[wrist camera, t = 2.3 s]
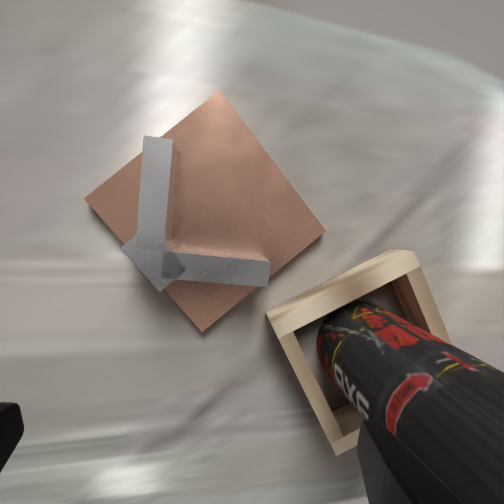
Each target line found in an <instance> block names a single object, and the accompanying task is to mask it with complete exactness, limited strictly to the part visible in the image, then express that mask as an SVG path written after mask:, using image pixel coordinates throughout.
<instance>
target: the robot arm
mask: <svg viewBox="0 0 504 504" xmlns="http://www.w3.org/2000/svg"><path fill="white" fill-rule="evenodd" d="M23 432H24V424H23V419H22V415H21V410H20V406H19V405H18V404H17V403H11V402H1V403H0V472H1V471H2V469H3V467H4V466H5V464H6V462H7V461H8V459H9V457H10V456H11V454H12V452H13V451H14V449H15V447H16V446H17V444H18V443H19V441H20V439H21V437H22V435H23ZM357 450H358V456H359V461H360V465H361V470H362V474H363V479H364V483H365V488H366V492H367V497H368V501H369V504H465V503H464V502H463V501H462V500H461V499H460V498H459V497H458V496H457V495H456V494H455V493H454V492H453V491H452V490H451V489H450V488H449V487H448V486H447V485H446V484H445V483H443V482H442V481H441V480H440V479H439V478H438V477H437V476H436V475H435V474H434V473H433V472H432V471H431V470H430V469H429V468H428V467H427V466H426V465H425V464H424V463H423V462H422V461H421V460H420V459H419V458H417V457H416V456H415V455H414V454H413V453H412V452H411V451H410V450H409V449H408V448H407V447H406V446H405V445H404V444H403V443H402V442H401V441H400V440H399V439H398V438H397V437H396V436H395V435H394V434H393V433H392V432H390V431H389V430H388V429H387V428H386V427H385V426H384V425H383V424H382V423H381V422H380V421H378V420H368V419H364V420H362V422H361V425H360V431H359V437H358V443H357Z"/></svg>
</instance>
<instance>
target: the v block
mask: <svg viewBox="0 0 504 504" xmlns="http://www.w3.org/2000/svg"><path fill="white" fill-rule="evenodd" d="M84 199H85V200H86V202H87V203H88V204H89V205H90V206H91V207H92V208H93V209H94V211H95V212H96V213H97V214H98V215H99V216H100V217H101V219H102V220H103V221H104V222H105V223H106V224H107V225H108V226H109V228H110V229H111V230H112V231H113V232H114V233H115V234H116V236H117V237H118V238H119V239H120V240H121V241H122V242H123V243H124V245H123V246H122V247H120V248H121V249H122V251H123V252H124V253H125V254H126V255H127V256H128V257H129V258H130V260H131V261H132V262H133V263H134V264H135V265H136V266H137V267H138V269H139V270H140V271H141V272H142V273H143V274H144V275H145V276H146V278H147V279H148V280H149V281H150V282H151V283H152V284H153V285H154V287H155V288H156V289H157V290H158V291H159V292H160V291H162V290H163V289H164V290H165V291H166V292H167V293H168V294H169V296H170V297H171V298H172V299H173V300H174V301H175V302H176V304H177V305H178V306H179V307H180V308H181V309H182V310H183V311H184V313H185V314H186V315H187V316H188V317H189V318H190V319H191V321H192V322H193V323H194V324H195V325H196V326H197V327H198V328H199V330H200V331H201V332H203V331H204V330H206V329H207V328H208V327H209V326H210V325H212V324H213V323H214V322H215V321H217V320H218V319H219V318H220V317H222V316H223V315H224V314H225V313H226V312H228V311H229V310H230V309H231V308H233V307H234V306H235V305H236V304H237V303H239V302H240V301H241V300H242V299H244V298H245V297H246V296H247V295H248V294H250V293H251V292H252V291H253V290H255V289H256V288H257V287H268V281H269V277H271V276H272V275H273V274H274V273H275V272H277V271H278V270H279V269H280V268H282V267H283V266H284V265H285V264H286V263H288V262H289V261H290V260H291V259H293V258H294V257H295V256H296V255H297V254H299V253H300V252H301V251H302V250H304V249H305V248H306V247H307V246H308V245H310V244H311V243H312V242H313V241H315V240H316V239H317V238H318V237H320V236H321V235H322V234H323V233H324V232H326V231H325V229H324V228H323V227H322V225H321V224H320V223H319V221H318V220H317V219H316V217H315V216H314V215H313V213H312V212H311V211H310V209H309V208H308V207H307V205H306V204H305V203H304V201H303V200H302V199H301V197H300V196H299V195H298V193H297V192H296V191H295V189H294V188H293V187H292V185H291V184H290V183H289V181H288V180H287V179H286V178H285V176H284V175H283V174H282V172H281V171H280V170H279V168H278V167H277V166H276V164H275V163H274V162H273V160H272V159H271V158H270V156H269V155H268V154H267V152H266V151H265V150H264V148H263V147H262V146H261V144H260V143H259V142H258V140H257V139H256V138H255V136H254V135H253V134H252V132H251V131H250V130H249V129H248V127H247V126H246V125H245V123H244V122H243V121H242V119H241V118H240V117H239V115H238V114H237V113H236V111H235V110H234V109H233V107H232V106H231V105H230V103H229V102H228V101H227V99H226V98H225V97H224V95H223V94H222V93H221V91H220V90H219V91H218V92H217V93H215V94H214V95H213V96H212V97H210V98H209V99H208V100H207V101H205V102H204V103H203V104H202V105H200V106H199V107H198V108H197V109H195V110H194V111H193V112H192V113H190V114H189V115H188V116H187V117H185V118H184V119H183V120H182V121H180V122H179V123H178V124H177V125H175V126H174V127H173V128H172V129H170V130H169V131H168V132H167V133H165V134H164V135H163V136H162V137H160V138H158V137H150V136H144V139H143V152H142V153H140V154H139V155H138V156H137V157H135V158H134V159H133V160H132V161H130V162H129V163H128V164H127V165H125V166H124V167H123V168H122V169H120V170H119V171H118V172H117V173H115V174H114V175H113V176H112V177H110V178H109V179H108V180H107V181H105V182H104V183H103V184H102V185H100V186H99V187H98V188H97V189H95V190H94V191H93V192H92V193H90V194H89V195H88V196H87V197H85V198H84Z"/></svg>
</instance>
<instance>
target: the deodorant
mask: <svg viewBox="0 0 504 504" xmlns="http://www.w3.org/2000/svg"><path fill="white" fill-rule="evenodd" d="M317 348H318V354H319V357H320V359H321V362H322V364H323V365H324V366H325V368H326V369H327V371H328V372H329V373H330V375H331V376H332V378H333V379H334V380H335V382H336V383H337V385H338V386H339V387H340V389H341V390H342V392H343V393H344V394H345V396H346V397H347V399H348V400H349V401H350V403H351V404H352V405H353V407H354V408H355V410H356V411H357V412H358V414H359V415H360V417H361V418H362V419H363V420H364V419H368V420H378V421H380V422H381V423H382V424H383V425H384V426H385V427H386V428H387V429H388V430H389V431H390V432H392V433H393V434H394V435H395V436H396V437H397V438H398V439H399V440H400V441H401V442H402V443H403V444H404V445H405V446H406V447H407V448H408V449H409V450H410V451H411V452H412V453H413V454H414V455H415V456H416V457H417V458H419V459H420V460H421V461H422V462H423V463H424V464H425V465H426V466H427V467H428V468H429V469H430V470H431V471H432V472H433V473H434V474H435V475H436V476H437V477H438V478H439V479H440V480H441V481H442V482H443V483H445V484H446V485H447V486H448V487H449V488H450V489H451V490H452V491H453V492H454V493H455V494H456V495H457V496H458V497H459V498H460V499H461V500H462V501H463V502H464V503H465V504H504V372H502V371H500V370H498V369H496V368H494V367H492V366H491V365H489V364H487V363H485V362H483V361H481V360H479V359H477V358H476V357H474V356H472V355H470V354H468V353H466V352H464V351H462V350H460V349H459V348H457V347H455V346H453V345H451V344H449V343H447V342H445V341H444V340H442V339H440V338H438V337H436V336H434V335H432V334H430V333H429V332H427V331H425V330H423V329H421V328H419V327H417V326H415V325H413V324H412V323H410V322H408V321H406V320H404V319H402V318H400V317H398V316H397V315H395V314H393V313H391V312H389V311H387V310H385V309H383V308H382V307H380V306H378V305H375V304H373V303H370V302H365V301H354V302H349V303H347V304H345V305H343V306H341V307H339V308H337V309H335V310H333V311H332V312H331V313H330V314H329V315H328V316H327V317H326V319H325V320H324V321H323V323H322V325H321V328H320V330H319V333H318V339H317Z"/></svg>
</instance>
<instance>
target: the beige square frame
mask: <svg viewBox="0 0 504 504" xmlns="http://www.w3.org/2000/svg"><path fill="white" fill-rule="evenodd" d="M390 281H391V283H392V286H393V288H394V290H395V293H396V295H397V297H398V300H399V302H400V305H401V307H402V309H403V312H404V314H405V316H406V319H407V321H408V322H410V323H412V324H413V325H415V326H417V327H419V328H421V329H423V330H425V331H427V332H429V333H430V334H432V335H434V336H436V337H438V338H440V339H442V340H444V341H445V342H447V343H449V344H451V341H450V339H449V336H448V334H447V331H446V329H445V326H444V324H443V321H442V319H441V316H440V314H439V311H438V309H437V306H436V304H435V302H434V299H433V297H432V294H431V292H430V289H429V287H428V284H427V282H426V279H425V277H424V274H423V272H422V269H421V267H420V264H419V262H418V259H417V257H416V255H415V252H411V251H405V250H398V249H390V250H388V251H386V252H384V253H382V254H380V255H378V256H376V257H374V258H372V259H370V260H368V261H366V262H364V263H362V264H360V265H358V266H356V267H354V268H352V269H350V270H348V271H346V272H344V273H342V274H341V275H339V276H337V277H335V278H333V279H331V280H329V281H327V282H325V283H323V284H321V285H319V286H317V287H315V288H313V289H311V290H309V291H307V292H305V293H303V294H301V295H299V296H297V297H295V298H293V299H291V300H289V301H287V302H285V303H283V304H281V305H279V306H277V307H275V308H273V309H271V310H269V311H267V312H265V313H266V315H267V317H268V319H269V321H270V323H271V325H272V327H273V329H274V331H275V333H276V335H277V337H278V339H279V341H280V343H281V345H282V347H283V349H284V351H285V353H286V355H287V357H288V359H289V361H290V363H291V365H292V367H293V369H294V371H295V373H296V376H297V378H298V380H299V382H300V384H301V386H302V388H303V390H304V392H305V394H306V396H307V398H308V400H309V402H310V404H311V406H312V408H313V410H314V412H315V414H316V416H317V418H318V420H319V422H320V424H321V426H322V428H323V430H324V432H325V434H326V436H327V438H328V440H329V442H330V444H331V447H332V449H333V451H334V453H335V455H336V456H338V455H340V454H342V453H344V452H346V451H347V450H349V449H351V448H353V447H355V446H357V443H358V437H359V431H360V425H361V422H362V420H363V419H362V418H361V417H360V415H359V414H358V412H357V411H356V410H355V408H354V407H353V405H352V404H351V403H350V402H349V403H347V404H345V405H343V406H342V407H340V408H338V409H336V410H334V411H331V409H330V407H329V405H328V403H327V401H326V399H325V397H324V395H323V393H322V390H321V388H320V386H319V384H318V382H317V380H316V378H315V376H314V374H313V372H312V370H311V368H310V366H309V364H308V362H307V359H306V357H305V355H304V353H303V351H302V349H301V347H300V345H299V343H298V341H297V339H296V337H295V335H294V333H293V331H294V330H296V329H298V328H300V327H302V326H304V325H306V324H308V323H310V322H312V321H314V320H316V319H318V318H320V317H322V316H324V315H326V314H328V313H330V312H332V311H333V310H335V309H337V308H339V307H341V306H343V305H345V304H347V303H349V302H351V301H353V300H355V299H357V298H359V297H361V296H363V295H365V294H367V293H369V292H371V291H373V290H375V289H377V288H379V287H380V286H382V285H384V284H386V283H388V282H390ZM451 345H452V344H451Z"/></svg>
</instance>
